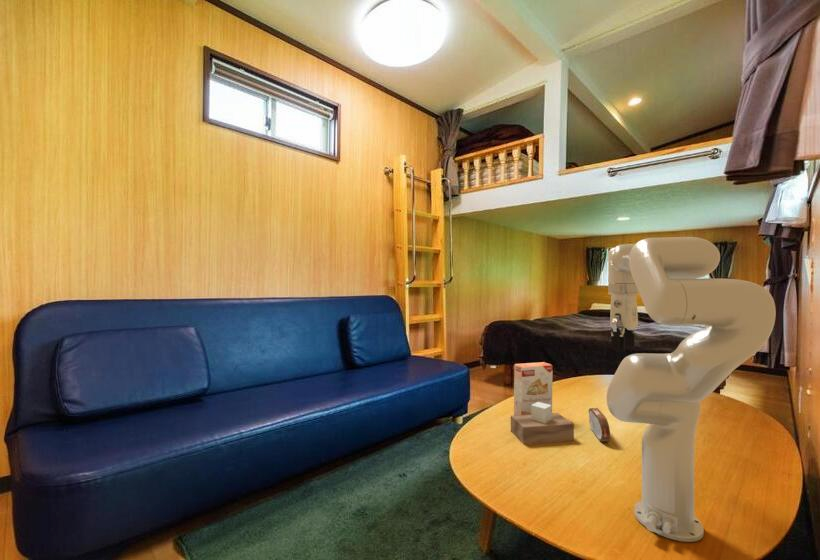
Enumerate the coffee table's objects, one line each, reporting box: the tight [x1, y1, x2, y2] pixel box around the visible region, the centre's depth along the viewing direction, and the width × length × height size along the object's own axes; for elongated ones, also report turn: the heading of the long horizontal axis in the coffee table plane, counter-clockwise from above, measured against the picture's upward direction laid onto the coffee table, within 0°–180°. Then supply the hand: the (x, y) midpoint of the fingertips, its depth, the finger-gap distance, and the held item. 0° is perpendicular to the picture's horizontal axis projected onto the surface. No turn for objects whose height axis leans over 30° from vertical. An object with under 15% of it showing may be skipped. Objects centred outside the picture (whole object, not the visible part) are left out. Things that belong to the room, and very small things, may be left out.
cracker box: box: [513, 361, 554, 416], centre depth 140 cm, size 14×6×21 cm, turn 105°
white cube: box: [531, 402, 553, 423], centre depth 123 cm, size 5×5×5 cm
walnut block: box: [510, 412, 575, 445], centre depth 123 cm, size 10×18×6 cm, turn 98°
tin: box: [588, 407, 611, 443], centre depth 123 cm, size 15×3×8 cm, turn 168°
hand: (623, 348), depth 103 cm, fingers open, 9 cm apart
